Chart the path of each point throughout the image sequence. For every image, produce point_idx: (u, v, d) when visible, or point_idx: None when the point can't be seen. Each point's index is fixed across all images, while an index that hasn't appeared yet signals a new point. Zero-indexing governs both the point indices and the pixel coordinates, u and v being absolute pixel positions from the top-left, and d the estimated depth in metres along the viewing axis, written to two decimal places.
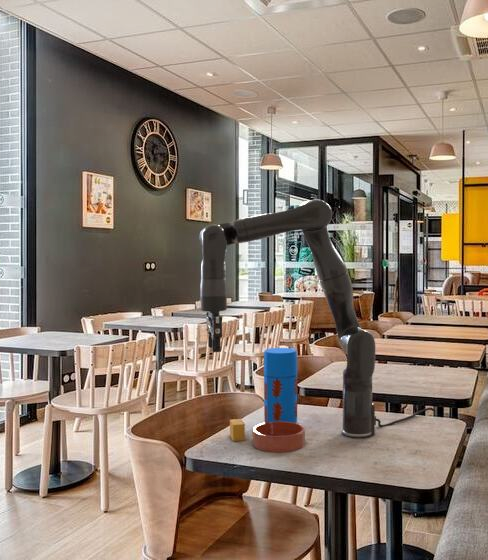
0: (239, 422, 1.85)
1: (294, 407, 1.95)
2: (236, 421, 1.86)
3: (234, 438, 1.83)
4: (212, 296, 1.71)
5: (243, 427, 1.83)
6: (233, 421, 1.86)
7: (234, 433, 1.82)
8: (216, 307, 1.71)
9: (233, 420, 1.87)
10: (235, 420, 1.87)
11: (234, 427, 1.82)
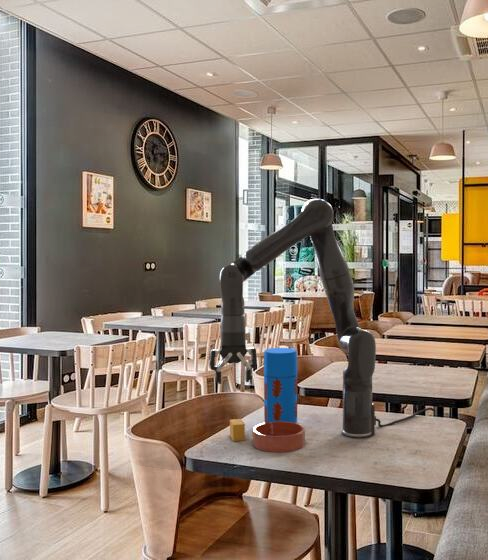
0: (239, 422, 1.85)
1: (294, 407, 1.95)
2: (236, 421, 1.86)
3: (234, 438, 1.83)
4: None
5: (243, 427, 1.83)
6: (233, 421, 1.86)
7: (234, 433, 1.82)
8: (221, 342, 1.81)
9: (233, 420, 1.87)
10: (235, 420, 1.87)
11: (234, 427, 1.82)
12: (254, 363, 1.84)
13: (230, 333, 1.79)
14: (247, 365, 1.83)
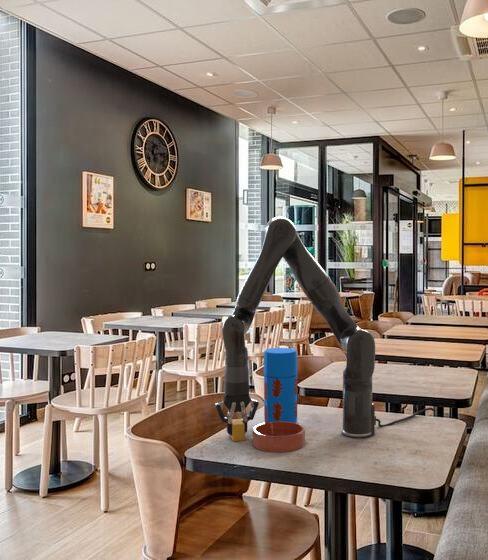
0: (239, 422, 1.85)
1: (294, 407, 1.95)
2: (236, 421, 1.86)
3: (234, 438, 1.83)
4: (224, 380, 1.85)
5: (243, 427, 1.83)
6: (233, 421, 1.86)
7: (234, 433, 1.82)
8: None
9: (233, 420, 1.87)
10: (235, 420, 1.87)
11: (234, 427, 1.82)
12: (250, 415, 1.85)
13: (234, 383, 1.81)
14: (245, 417, 1.85)
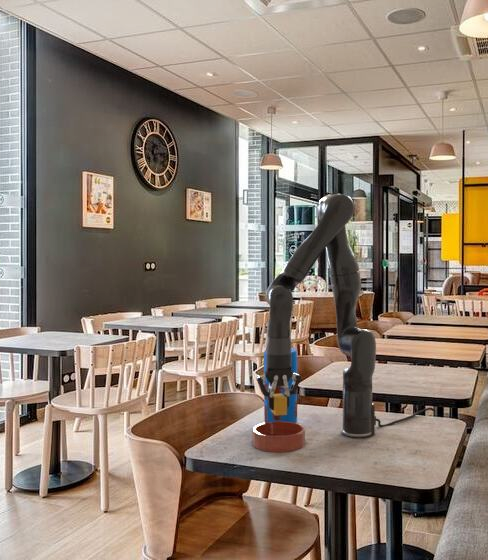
0: (281, 396, 1.79)
1: (294, 407, 1.95)
2: (278, 396, 1.79)
3: (276, 412, 1.76)
4: (266, 353, 1.79)
5: (285, 401, 1.77)
6: (274, 395, 1.80)
7: (276, 407, 1.76)
8: (266, 364, 1.78)
9: (274, 394, 1.81)
10: (276, 394, 1.81)
11: (276, 401, 1.76)
12: (292, 390, 1.79)
13: (276, 356, 1.75)
14: (287, 391, 1.79)
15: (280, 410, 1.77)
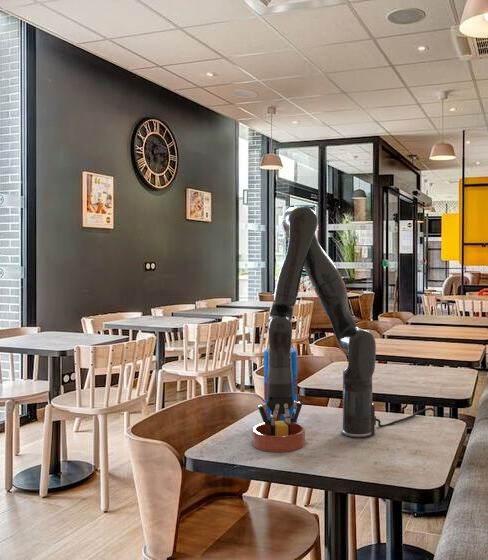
0: (282, 424, 1.81)
1: None
2: (279, 423, 1.81)
3: None
4: (267, 381, 1.80)
5: (287, 429, 1.79)
6: (276, 423, 1.82)
7: (278, 435, 1.78)
8: (267, 393, 1.79)
9: (275, 422, 1.83)
10: (277, 422, 1.83)
11: (278, 429, 1.78)
12: (294, 418, 1.81)
13: (278, 385, 1.77)
14: (288, 419, 1.81)
15: None
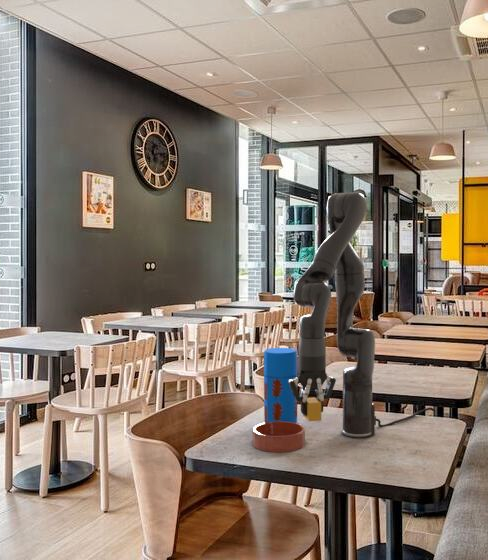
0: (315, 400, 1.67)
1: (294, 407, 1.95)
2: (311, 400, 1.68)
3: (310, 418, 1.65)
4: None
5: (320, 406, 1.65)
6: (307, 399, 1.68)
7: (310, 412, 1.65)
8: (299, 367, 1.66)
9: (307, 399, 1.69)
10: (309, 399, 1.69)
11: (310, 406, 1.64)
12: (327, 394, 1.68)
13: (310, 357, 1.63)
14: (321, 395, 1.67)
15: (314, 415, 1.65)
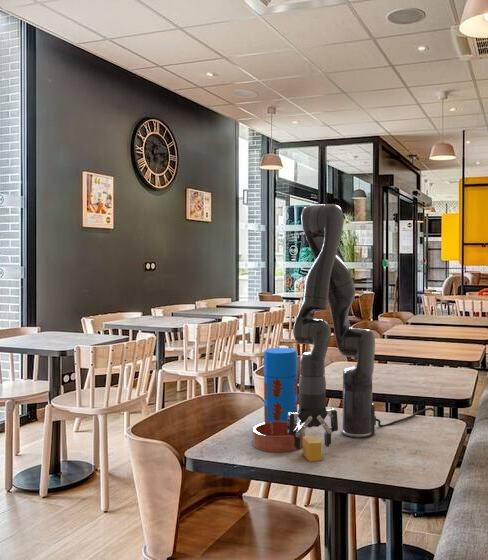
0: (315, 440, 1.68)
1: (294, 407, 1.95)
2: (311, 439, 1.68)
3: (310, 458, 1.65)
4: (299, 392, 1.67)
5: (320, 446, 1.66)
6: (307, 439, 1.68)
7: (310, 452, 1.65)
8: (299, 404, 1.67)
9: (307, 438, 1.70)
10: (309, 438, 1.70)
11: (310, 446, 1.65)
12: (335, 426, 1.69)
13: (311, 396, 1.64)
14: (327, 429, 1.68)
15: (314, 455, 1.65)
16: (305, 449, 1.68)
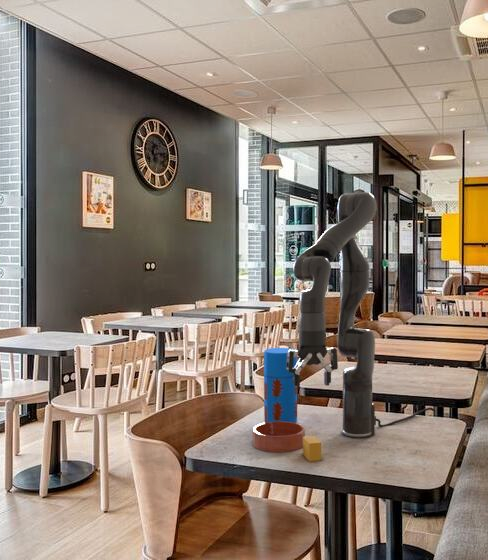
0: (315, 440, 1.68)
1: (294, 407, 1.95)
2: (311, 439, 1.68)
3: (310, 458, 1.65)
4: None
5: (320, 446, 1.66)
6: (307, 439, 1.68)
7: (310, 452, 1.65)
8: (299, 341, 1.66)
9: (307, 438, 1.69)
10: (309, 438, 1.70)
11: (310, 446, 1.65)
12: (335, 365, 1.68)
13: (310, 332, 1.63)
14: (327, 367, 1.67)
15: (314, 455, 1.65)
16: (305, 449, 1.68)
